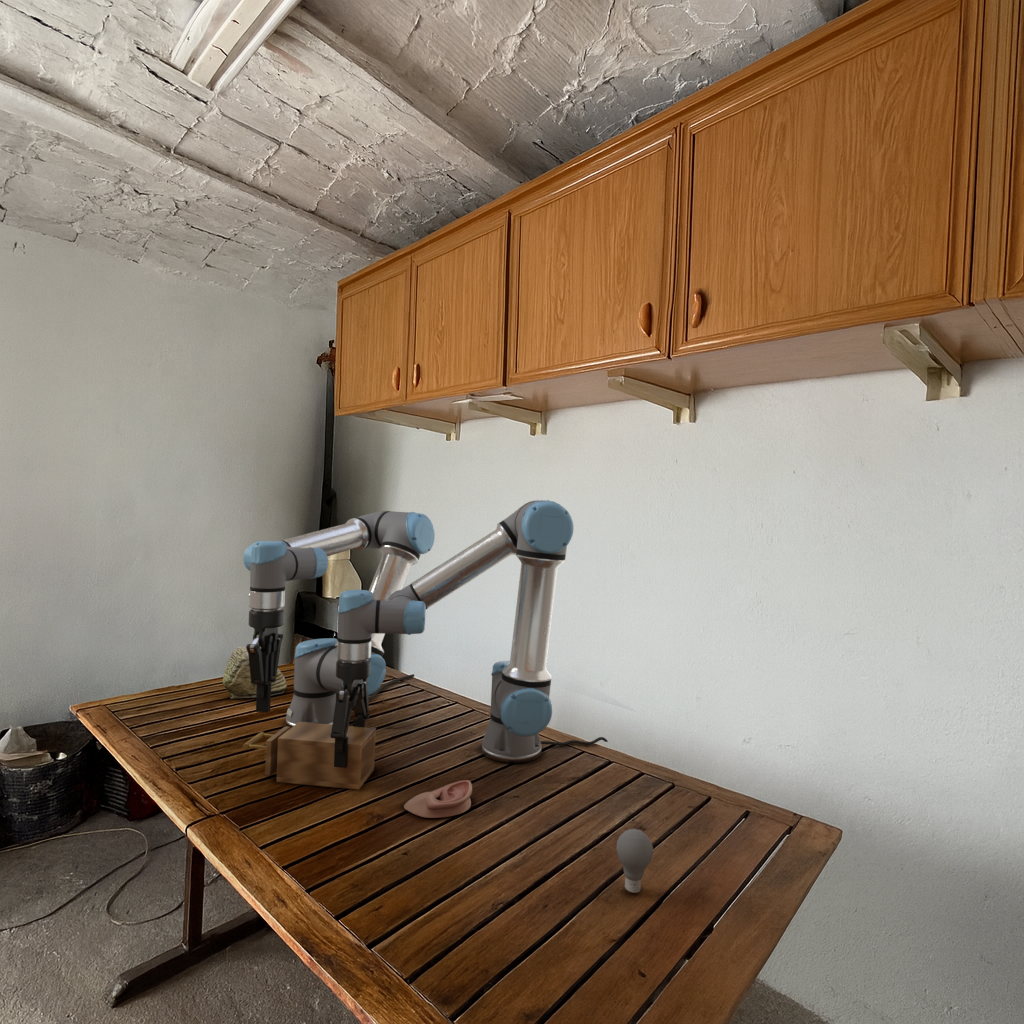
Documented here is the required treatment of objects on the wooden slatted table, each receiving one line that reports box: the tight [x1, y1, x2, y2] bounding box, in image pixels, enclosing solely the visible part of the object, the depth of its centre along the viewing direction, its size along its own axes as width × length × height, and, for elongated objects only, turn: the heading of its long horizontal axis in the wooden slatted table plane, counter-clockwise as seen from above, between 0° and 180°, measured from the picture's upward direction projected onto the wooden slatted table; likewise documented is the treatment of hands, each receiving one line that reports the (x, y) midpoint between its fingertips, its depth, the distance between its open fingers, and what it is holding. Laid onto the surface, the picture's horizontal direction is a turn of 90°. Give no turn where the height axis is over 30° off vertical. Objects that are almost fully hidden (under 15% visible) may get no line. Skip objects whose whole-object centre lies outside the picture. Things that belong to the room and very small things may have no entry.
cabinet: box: [276, 722, 377, 790], centre depth 144 cm, size 19×10×10 cm, turn 84°
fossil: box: [222, 646, 288, 699], centre depth 198 cm, size 9×18×15 cm, turn 132°
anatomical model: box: [403, 779, 473, 819], centre depth 132 cm, size 13×4×12 cm
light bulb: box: [615, 828, 654, 894], centre depth 106 cm, size 6×6×10 cm
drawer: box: [242, 725, 290, 776], centre depth 144 cm, size 23×9×8 cm, turn 84°
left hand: (263, 711), depth 145 cm, fingers closed
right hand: (349, 756), depth 143 cm, fingers closed on cabinet, 10 cm apart
